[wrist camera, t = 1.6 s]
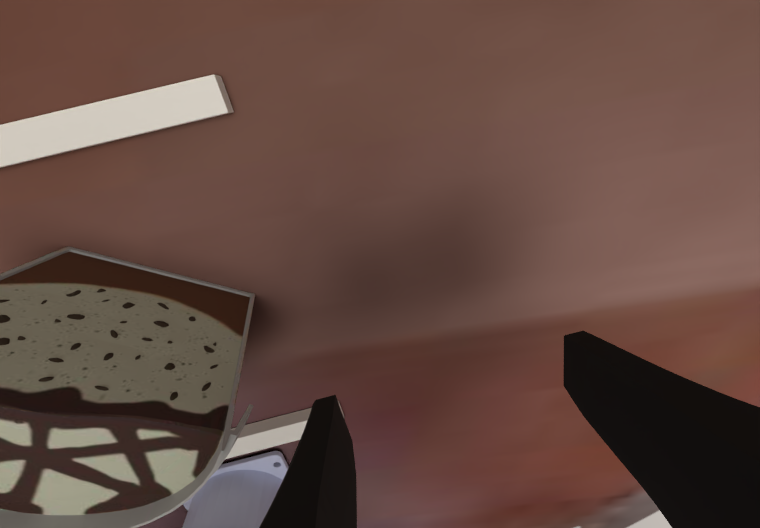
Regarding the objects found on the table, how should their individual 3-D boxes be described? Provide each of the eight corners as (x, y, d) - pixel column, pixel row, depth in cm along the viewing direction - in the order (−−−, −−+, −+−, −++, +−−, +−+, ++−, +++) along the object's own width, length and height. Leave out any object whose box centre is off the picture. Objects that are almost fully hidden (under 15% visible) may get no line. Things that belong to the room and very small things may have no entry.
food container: (30, 336, 20) (-232, 535, 10) (33, 237, 17) (-292, 377, 8) (256, 381, 23) (205, 564, 14) (281, 300, 21) (240, 453, 11)
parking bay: (344, 416, 25) (344, 427, 24) (-107, 533, 24) (-124, 550, 23) (221, 76, 16) (214, 74, 15) (-507, 248, 15) (-561, 257, 14)
